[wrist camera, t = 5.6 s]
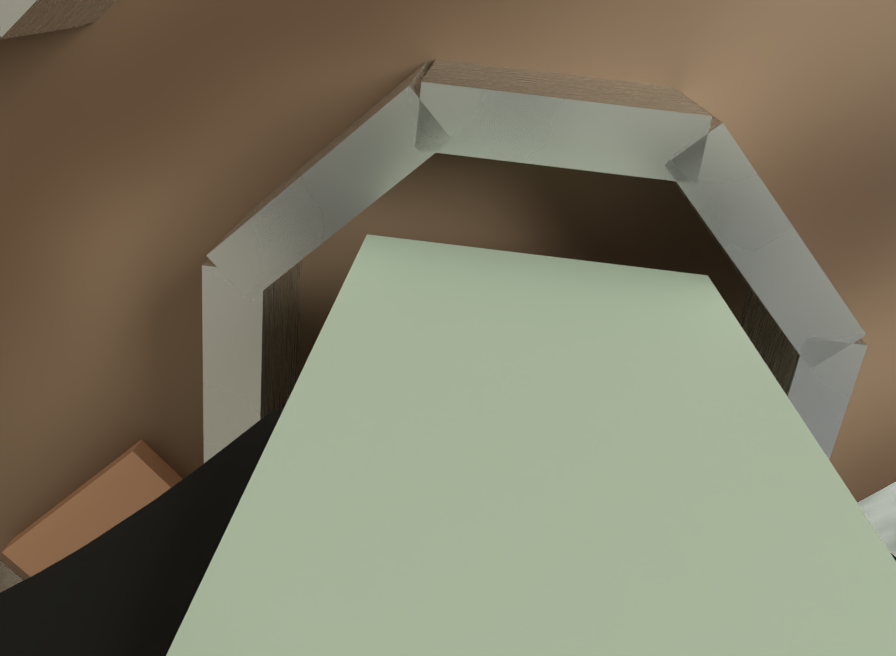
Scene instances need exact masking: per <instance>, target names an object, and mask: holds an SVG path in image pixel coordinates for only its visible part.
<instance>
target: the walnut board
mask: <svg viewBox="0 0 896 656" xmlns="http://www.w3.org/2000/svg"><path fill="white" fill-rule="evenodd" d="M436 59H442V60H450V61H459V62H467V63H476V64H484V65H492V66H501V67H509V68H518V69H526V70H535V71H543V72H552V73H560V74H569V75H577V76H586V77H594V78H603V79H611V80H620V81H628V82H636V83H645V84H653V85H662V86H670V87H673V88H675V89H676V90H677V91H679V92H682V93H683V94H684V95H686V96H687V97H689V98H690V99H691V100H693V101H694V102H695V103H697V104H698V105H699V106H701V107H702V108H704V109H705V110H706V111H708V112H709V113H710V114H712V115H713V116H714V117H716V118H717V119H719V120H720V121H721V122H723V124H724V125H725V127H726V128H727V130H728V131H729V133H730V134H731V135H732V137H733V138H734V140H735V141H736V143H737V144H738V146H739V147H740V149H741V150H742V152H743V153H744V155H745V156H746V158H747V159H748V161H749V162H750V164H751V165H752V167H753V168H754V169H755V171H756V172H757V174H758V175H759V177H760V178H761V180H762V181H763V183H764V184H765V186H766V187H767V189H768V190H769V192H770V193H771V195H772V196H773V198H774V199H775V201H776V202H777V204H778V205H779V206H780V208H781V209H782V211H783V212H784V214H785V215H786V217H787V218H788V220H789V221H790V223H791V224H792V226H793V227H794V229H795V230H796V232H797V233H798V235H799V236H800V238H801V239H802V240H803V242H804V243H805V245H806V246H807V248H808V249H809V251H810V252H811V254H812V255H813V257H814V258H815V260H816V261H817V263H818V264H819V266H820V267H821V269H822V270H823V272H824V273H825V274H826V276H827V277H828V279H829V280H830V282H831V283H832V285H833V286H834V288H835V289H836V291H837V292H838V294H839V295H840V297H841V298H842V300H843V301H844V303H845V304H846V306H847V307H848V309H849V310H850V311H851V313H852V314H853V316H854V317H855V319H856V320H857V322H858V323H859V325H860V326H861V328H862V329H863V331H864V332H865V334H866V336H864V337H862V338H861V339H862V340H863V341H864V342H865V343H866V344H867V345H868V346H867V349H866V352H865V355H864V358H863V361H862V364H861V367H860V370H859V373H858V376H857V379H856V382H855V385H854V388H853V391H852V394H851V397H850V400H849V403H848V405H847V408H846V411H845V414H844V417H843V420H842V423H841V426H840V429H839V432H838V435H837V438H836V441H835V444H834V447H833V450H832V453H831V456H830V459H829V460H830V462H831V464H832V465H833V467H834V468H835V470H836V471H837V473H838V474H839V476H840V477H841V479H842V480H843V482H844V483H845V485H846V486H847V488H848V489H849V491H850V492H851V494H852V495H853V497H854V498H855V500H856V501H857V502H859V501H861V500H863V499H864V498H866V497H868V496H870V495H872V494H874V493H875V492H877V491H879V490H881V489H883V488H885V487H886V486H888V485H890V484H892V483H894V482H896V0H117V1H116V2H115V3H114V4H113V5H112V6H111V7H110V8H109V9H108V10H107V11H106V12H105V13H104V14H103V15H102V16H101V17H100V18H99V19H98V20H97V21H96V22H95V23H90V24H85V26H81V27H75V28H69V29H62V30H56V31H50V32H44V33H38V34H31V35H25V36H19V37H13V38H7V39H0V560H1V561H2V562H3V563H4V564H5V565H6V566H8V567H9V568H10V569H11V570H12V571H14V572H15V573H16V574H17V575H18V576H19V577H21V578H22V579H23V580H26V579H28V578H29V577H30V576H29V575H28V574H26V573H25V572H24V571H23V570H22V569H21V568H19V567H18V566H17V565H16V564H15V563H14V562H12V561H11V560H10V559H9V558H8V557H6V556H5V555H4V554H3V553H2V551H3V550H4V549H5V548H6V547H7V545H8V544H9V543H10V542H11V541H12V539H13V538H15V537H16V536H17V535H19V534H20V533H21V532H22V531H24V530H25V529H26V528H28V527H29V526H30V525H32V524H33V523H34V522H35V521H37V520H38V519H39V518H41V517H42V516H43V515H44V514H46V513H47V512H48V511H50V510H51V509H52V508H54V507H55V506H56V505H57V504H59V503H60V502H61V501H63V500H64V499H65V498H66V497H68V496H69V495H70V494H72V493H73V492H74V491H75V490H77V489H78V488H79V487H81V486H82V485H83V484H85V483H86V482H87V481H88V480H90V479H91V478H92V477H94V476H95V475H96V474H97V473H99V472H100V471H101V470H103V469H104V468H105V467H106V466H108V465H109V464H110V463H112V462H113V461H114V460H116V459H117V458H118V457H119V456H121V455H122V454H123V453H125V452H126V451H127V450H128V449H130V448H131V447H132V446H134V445H135V444H136V443H138V442H139V441H140V440H141V439H142V440H143V441H144V442H145V443H146V444H147V445H148V446H149V447H150V448H151V449H152V450H153V451H154V452H155V453H156V454H157V455H158V456H160V457H161V458H162V459H163V460H164V461H165V462H166V463H167V464H168V465H169V466H170V467H171V468H172V469H173V470H174V471H175V472H176V473H177V474H178V475H179V476H180V477H182V478H183V479H184V478H185V477H186V476H188V475H189V474H190V473H192V472H193V471H194V470H196V469H197V468H199V467H200V466H201V465H202V464H204V436H203V330H202V265H203V264H204V263H205V262H206V261H207V259H208V257H207V256H206V255H207V254H208V253H209V252H210V251H211V250H212V249H213V248H214V247H215V246H216V245H217V244H218V243H219V242H220V241H221V240H222V239H223V238H224V237H225V236H226V235H227V234H228V233H229V232H230V231H231V230H232V229H233V228H234V227H235V226H236V225H237V224H238V223H239V222H240V221H241V220H242V219H243V218H244V217H245V216H246V215H247V214H248V213H249V212H250V211H251V210H252V209H253V208H254V207H255V206H256V205H257V204H258V203H259V202H260V201H262V200H263V199H264V198H265V197H266V196H268V195H269V194H270V193H271V192H272V191H273V190H275V189H276V188H277V187H278V186H279V185H281V184H282V183H283V182H284V181H285V180H286V179H288V178H289V177H290V176H291V175H292V174H294V173H295V172H296V171H297V170H298V169H300V168H301V167H302V166H303V165H304V164H305V163H307V162H308V161H309V160H310V159H311V158H313V157H314V156H315V155H316V154H317V153H319V152H320V151H321V150H322V149H323V148H324V147H326V146H327V145H328V144H329V143H330V142H332V141H333V140H334V139H335V138H336V137H337V136H339V135H340V134H341V133H342V132H343V131H345V130H346V129H347V128H348V127H349V126H351V125H352V124H353V123H354V122H355V121H356V120H358V119H359V118H360V117H361V116H362V115H364V114H365V113H366V112H367V111H368V110H370V109H371V108H372V107H373V106H374V105H375V104H377V103H378V102H379V101H380V100H381V99H383V98H384V97H385V96H386V95H387V94H389V93H390V92H391V91H392V90H393V89H394V88H396V87H397V86H398V85H399V84H400V83H402V82H403V81H404V80H405V79H406V78H407V77H409V76H410V75H411V74H412V73H413V72H415V71H416V70H417V69H418V68H419V67H421V66H422V65H423V64H424V63H425V62H426V63H427V64H428V65H429V66H430V67H431V66H432V64H433V63H434V61H435V60H436ZM367 234H368V235H377V236H385V237H393V238H401V239H410V240H418V241H426V242H435V243H443V244H451V245H459V246H468V247H476V248H484V249H493V250H501V251H509V252H517V253H526V254H534V255H542V256H551V257H559V258H567V259H575V260H584V261H592V262H600V263H609V264H617V265H625V266H633V267H642V268H650V269H658V270H667V271H675V272H683V273H691V274H700V275H708V277H709V278H710V280H711V281H712V283H713V284H714V286H715V287H716V289H717V290H718V292H719V293H720V295H721V296H722V298H723V299H724V301H725V302H726V304H727V305H728V307H729V309H730V310H731V312H732V313H733V315H734V316H735V318H736V319H737V321H738V322H739V321H740V317H741V313H742V310H743V306H744V302H745V298H746V295H747V291H748V286H747V285H746V283H745V282H744V280H743V279H742V278H741V276H740V275H739V273H738V272H737V271H736V269H735V268H734V266H733V265H732V264H731V262H730V261H729V259H728V258H727V257H726V255H725V254H724V252H723V251H722V250H721V248H720V247H719V245H718V244H717V243H716V241H715V240H714V238H713V237H712V236H711V234H710V233H709V231H708V230H707V229H706V227H705V226H704V224H703V223H702V222H701V220H700V219H699V217H698V216H697V215H696V213H695V212H694V210H693V209H692V208H691V206H690V205H689V203H688V202H687V201H686V199H685V198H684V196H683V195H682V194H681V192H680V191H679V189H678V188H677V186H676V185H675V184H674V182H673V181H670V180H661V179H653V178H644V177H636V176H628V175H619V174H611V173H602V172H594V171H586V170H577V169H569V168H560V167H552V166H544V165H535V164H527V163H518V162H510V161H502V160H493V159H485V158H476V157H468V156H460V155H451V154H443V153H435V154H433V155H432V156H431V157H430V158H428V159H427V160H426V161H425V162H423V163H422V164H421V165H420V166H418V167H417V168H416V169H415V170H413V171H412V172H411V173H410V174H408V175H407V176H406V177H405V178H403V179H402V180H401V181H400V182H398V183H397V184H396V185H395V186H393V187H392V188H391V189H390V190H388V191H387V192H386V193H385V194H383V195H382V196H381V197H380V198H378V199H377V200H376V201H375V202H373V203H372V204H371V205H370V206H368V207H367V208H366V209H365V210H363V211H362V212H361V213H360V214H358V215H357V216H356V217H355V218H353V219H352V220H351V221H350V222H348V223H347V224H346V225H345V226H343V227H342V228H341V229H340V230H338V231H337V232H336V233H335V234H333V235H332V236H331V237H330V238H328V239H327V240H326V241H325V242H323V243H322V244H321V245H320V246H318V247H317V248H316V249H315V250H313V251H312V252H311V253H310V254H308V255H307V256H306V257H305V258H303V262H302V286H301V311H300V335H299V360H298V378H299V376H300V374H301V372H302V369H303V367H304V365H305V363H306V361H307V359H308V357H309V355H310V353H311V351H312V348H313V346H314V344H315V342H316V340H317V338H318V336H319V334H320V332H321V330H322V328H323V325H324V323H325V321H326V319H327V317H328V315H329V313H330V311H331V309H332V307H333V304H334V302H335V300H336V298H337V296H338V294H339V292H340V290H341V288H342V286H343V283H344V281H345V279H346V277H347V275H348V273H349V271H350V269H351V267H352V265H353V262H354V260H355V258H356V256H357V254H358V252H359V250H360V248H361V246H362V244H363V241H364V239H365V237H366V235H367Z"/></svg>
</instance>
